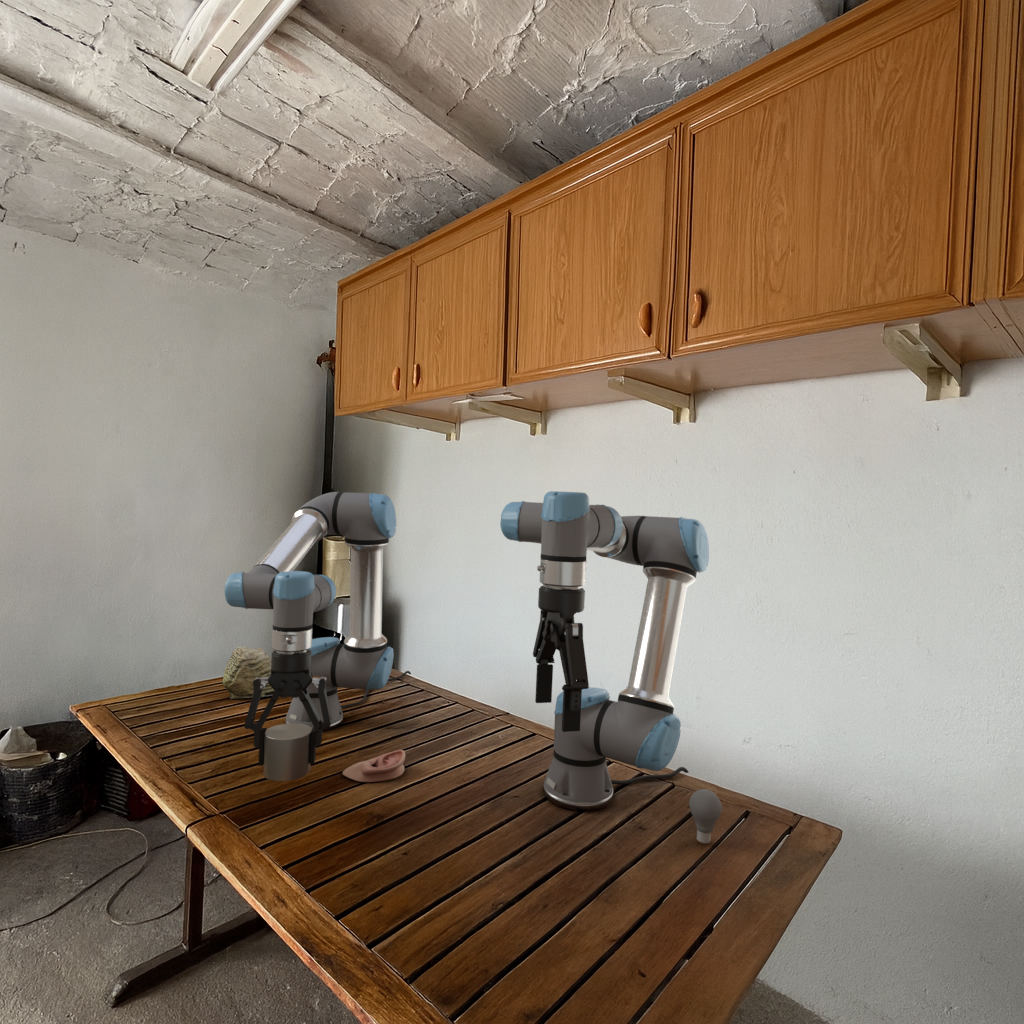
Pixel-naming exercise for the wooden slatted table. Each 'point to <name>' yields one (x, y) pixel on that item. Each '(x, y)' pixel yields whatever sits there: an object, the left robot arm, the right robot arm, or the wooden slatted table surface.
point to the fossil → (246, 672)
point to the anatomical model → (377, 768)
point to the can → (287, 752)
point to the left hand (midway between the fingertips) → (287, 762)
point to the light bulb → (705, 812)
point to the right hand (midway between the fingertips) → (556, 715)
